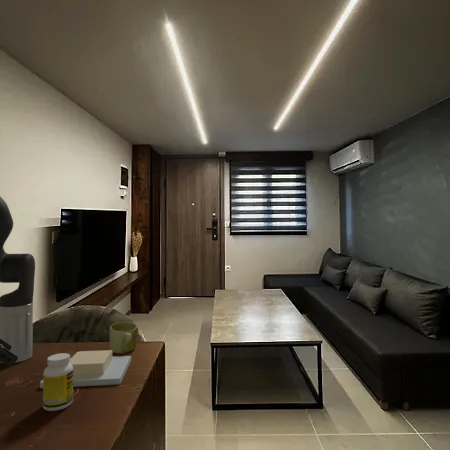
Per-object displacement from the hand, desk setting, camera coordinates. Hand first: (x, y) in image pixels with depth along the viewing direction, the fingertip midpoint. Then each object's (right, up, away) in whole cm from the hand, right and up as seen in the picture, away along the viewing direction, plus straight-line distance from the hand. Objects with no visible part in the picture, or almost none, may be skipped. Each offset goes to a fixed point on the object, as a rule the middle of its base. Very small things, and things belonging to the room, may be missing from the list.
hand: (11, 356), depth 69 cm
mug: (+11, -15, +40) cm, 44 cm away
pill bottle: (+7, -14, +6) cm, 16 cm away
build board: (+7, -14, +23) cm, 28 cm away
